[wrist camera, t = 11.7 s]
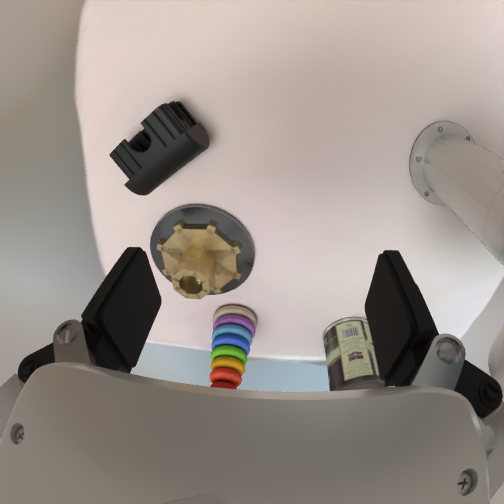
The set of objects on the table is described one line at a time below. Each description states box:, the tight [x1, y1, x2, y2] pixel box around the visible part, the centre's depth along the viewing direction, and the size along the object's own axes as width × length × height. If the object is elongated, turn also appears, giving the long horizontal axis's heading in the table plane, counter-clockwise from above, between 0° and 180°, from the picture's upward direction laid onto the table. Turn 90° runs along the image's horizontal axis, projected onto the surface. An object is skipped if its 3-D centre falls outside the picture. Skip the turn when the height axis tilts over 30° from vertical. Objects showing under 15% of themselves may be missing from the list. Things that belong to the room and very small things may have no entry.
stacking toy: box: [210, 305, 257, 389], centre depth 43 cm, size 8×8×19 cm
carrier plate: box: [150, 204, 254, 295], centre depth 40 cm, size 16×16×4 cm
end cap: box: [110, 101, 209, 195], centre depth 29 cm, size 10×7×7 cm
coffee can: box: [323, 317, 385, 391], centre depth 46 cm, size 10×10×14 cm
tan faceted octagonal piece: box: [157, 219, 242, 299], centre depth 38 cm, size 12×12×6 cm
